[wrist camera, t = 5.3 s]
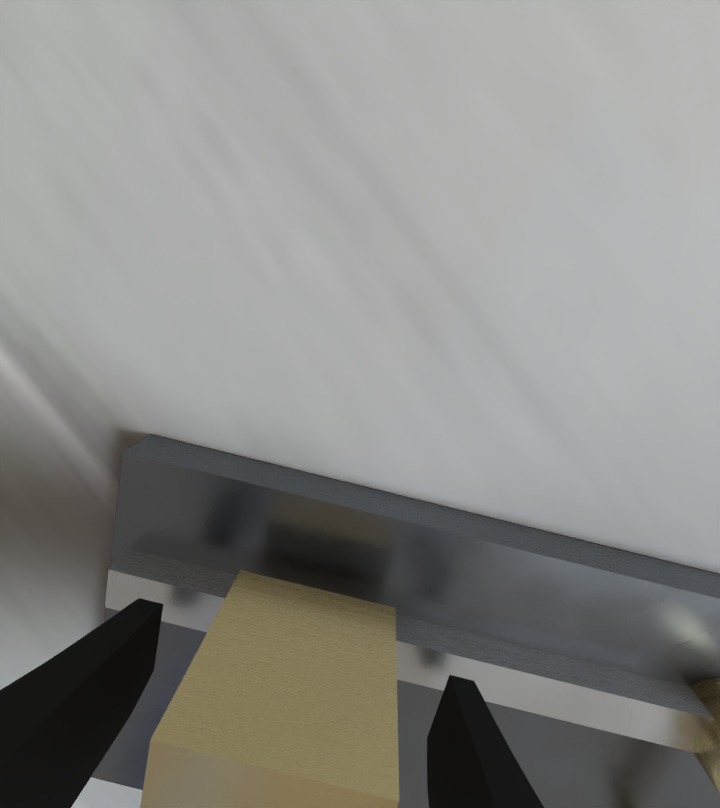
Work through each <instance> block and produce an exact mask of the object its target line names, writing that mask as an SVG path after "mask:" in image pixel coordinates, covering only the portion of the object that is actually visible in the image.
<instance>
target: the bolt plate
mask: <svg viewBox="0 0 720 808" xmlns="http://www.w3.org/2000/svg"><path fill="white" fill-rule="evenodd" d="M240 570H244V571H248V572H252V573H256V574H260V575H264V576H268V577H272V578H276V579H280V580H284V581H288V582H292V583H296V584H300V585H305V586H309V587H313V588H317V589H321V590H325V591H329V592H333V593H337V594H341V595H345V596H349V597H353V598H357V599H361V600H365V601H369V602H373V603H377V604H381V605H386V606H390V607H394V608H395V609H396V659H397V709H398V759H399V804H398V807H397V808H429V801H428V790H427V737H428V734H429V731H430V728H431V725H432V723H433V720H434V717H435V714H436V711H437V709H438V706H439V703H440V700H441V697H442V695H443V692H444V689H445V686H446V683H447V681H448V678H449V675H453V676H457V677H461V678H465V679H469V680H473V681H474V682H475V683H476V685H477V687H478V689H479V691H480V693H481V695H482V697H483V698H484V700H485V702H486V704H487V706H488V708H489V710H490V712H491V714H492V716H493V718H494V719H495V721H496V723H497V725H498V727H499V729H500V731H501V733H502V734H503V736H504V738H505V740H506V742H507V744H508V746H509V747H510V749H511V751H512V753H513V755H514V756H515V758H516V760H517V762H518V763H519V765H520V767H521V769H522V770H523V772H524V774H525V776H526V777H527V779H528V781H529V783H530V784H531V786H532V788H533V790H534V791H535V793H536V795H537V796H538V798H539V800H540V801H541V803H542V805H543V806H544V808H720V574H716V573H712V572H708V571H704V570H700V569H696V568H692V567H687V566H683V565H679V564H675V563H671V562H667V561H663V560H659V559H655V558H651V557H647V556H643V555H639V554H635V553H631V552H627V551H623V550H618V549H614V548H610V547H606V546H602V545H598V544H594V543H590V542H586V541H582V540H578V539H574V538H570V537H566V536H562V535H558V534H553V533H549V532H545V531H541V530H537V529H533V528H529V527H525V526H521V525H517V524H513V523H509V522H505V521H501V520H497V519H493V518H489V517H484V516H480V515H476V514H472V513H468V512H464V511H460V510H456V509H452V508H448V507H444V506H440V505H436V504H432V503H428V502H424V501H420V500H415V499H411V498H407V497H403V496H399V495H395V494H391V493H387V492H383V491H379V490H375V489H371V488H367V487H363V486H359V485H355V484H351V483H346V482H342V481H338V480H334V479H330V478H326V477H322V476H318V475H314V474H310V473H306V472H302V471H298V470H294V469H290V468H286V467H282V466H277V465H273V464H269V463H265V462H261V461H257V460H253V459H249V458H245V457H241V456H237V455H233V454H229V453H225V452H221V451H217V450H213V449H208V448H204V447H200V446H196V445H192V444H188V443H184V442H180V441H176V440H172V439H168V438H164V437H160V436H156V435H152V434H151V435H149V436H148V437H146V438H144V439H143V440H141V441H139V442H138V443H136V444H134V445H133V446H131V447H129V448H128V449H126V450H125V451H123V452H122V461H121V471H120V480H119V490H118V499H117V509H116V518H115V528H114V537H113V547H112V556H111V566H110V569H109V571H108V580H107V590H106V599H105V607H106V613H105V622H106V621H107V620H108V619H110V618H111V617H113V616H114V615H115V614H117V613H118V612H120V611H121V610H122V609H124V608H125V607H127V606H128V605H129V604H131V603H132V602H134V601H135V600H137V599H139V598H141V599H145V600H149V601H153V602H157V603H161V604H163V611H162V618H161V625H160V632H159V639H158V646H157V652H156V659H155V666H154V671H153V673H152V675H151V677H150V679H149V681H148V683H147V685H146V687H145V689H144V691H143V693H142V695H141V697H140V699H139V700H138V702H137V704H136V706H135V708H134V710H133V712H132V714H131V715H130V717H129V719H128V720H127V722H126V723H125V725H124V726H123V728H122V730H121V731H120V733H119V734H118V736H117V737H116V739H115V740H114V742H113V744H112V745H111V747H110V748H109V750H108V751H107V753H106V754H105V756H104V757H103V759H102V760H101V762H100V764H99V765H98V767H97V768H96V770H95V771H94V773H93V774H92V776H91V777H93V778H97V779H101V780H105V781H109V782H113V783H117V784H121V785H125V786H129V787H133V788H137V789H141V790H143V786H144V779H145V773H146V766H147V759H148V753H149V746H150V740H151V738H152V736H153V734H154V732H155V730H156V728H157V726H158V724H159V723H160V721H161V719H162V717H163V715H164V713H165V711H166V709H167V708H168V706H169V704H170V702H171V700H172V698H173V696H174V694H175V692H176V691H177V689H178V687H179V685H180V683H181V681H182V679H183V677H184V675H185V674H186V672H187V670H188V668H189V666H190V664H191V662H192V660H193V658H194V657H195V655H196V653H197V651H198V649H199V647H200V645H201V643H202V641H203V640H204V638H205V636H206V634H207V632H208V630H209V628H210V626H211V624H212V623H213V621H214V619H215V617H216V615H217V613H218V611H219V609H220V608H221V606H222V604H223V602H224V600H225V598H226V596H227V594H228V592H229V591H230V589H231V587H232V585H233V583H234V581H235V579H236V577H237V575H238V574H239V572H240Z"/></svg>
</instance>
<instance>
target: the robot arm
mask: <svg viewBox="0 0 720 808" xmlns="http://www.w3.org/2000/svg"><path fill="white" fill-rule="evenodd" d="M162 611H163V604H161V603H157V602H153V601H149V600H145V599H141V598H139V599H137V600H135V601H134V602H132V603H131V604H129V605H128V606H127V607H125V608H124V609H122V610H121V611H120V612H118V613H117V614H115V615H114V616H113V617H111V618H110V619H108V620H107V621H106V622H104V623H103V624H101V625H100V626H99V627H97V628H96V629H94V630H93V631H91V632H90V633H89V634H87V635H86V636H84V637H83V638H81V639H80V640H78V641H77V642H75V643H74V644H72V645H71V646H69V647H68V648H66V649H65V650H63V651H62V652H60V653H59V654H57V655H56V656H54V657H53V658H51V659H50V660H48V661H47V662H45V663H44V664H42V665H40V666H39V667H37V668H36V669H34V670H32V671H31V672H29V673H27V674H26V675H24V676H23V677H21V678H19V679H18V680H16V681H15V682H13V683H11V684H10V685H8V686H6V687H5V688H3V689H1V690H0V808H71V806H72V805H73V803H74V802H75V800H76V799H77V797H78V796H79V794H80V793H81V791H82V790H83V788H84V786H85V785H86V783H87V782H88V780H89V779H90V777H91V776H92V774H93V773H94V771H95V770H96V768H97V767H98V765H99V764H100V762H101V760H102V759H103V757H104V756H105V754H106V753H107V751H108V750H109V748H110V747H111V745H112V744H113V742H114V740H115V739H116V737H117V736H118V734H119V733H120V731H121V730H122V728H123V726H124V725H125V723H126V722H127V720H128V719H129V717H130V715H131V714H132V712H133V710H134V708H135V706H136V704H137V702H138V700H139V699H140V697H141V695H142V693H143V691H144V689H145V687H146V685H147V683H148V681H149V679H150V677H151V675H152V673H153V671H154V666H155V659H156V652H157V646H158V639H159V632H160V625H161V618H162ZM427 790H428V801H429V808H544V806H543V805H542V803H541V801H540V800H539V798H538V796H537V795H536V793H535V791H534V790H533V788H532V786H531V784H530V783H529V781H528V779H527V777H526V776H525V774H524V772H523V770H522V769H521V767H520V765H519V763H518V762H517V760H516V758H515V756H514V755H513V753H512V751H511V749H510V747H509V746H508V744H507V742H506V740H505V738H504V736H503V734H502V733H501V731H500V729H499V727H498V725H497V723H496V721H495V719H494V718H493V716H492V714H491V712H490V710H489V708H488V706H487V704H486V702H485V700H484V698H483V697H482V695H481V693H480V691H479V689H478V687H477V685H476V683H475V682H474V681H473V680H469V679H465V678H461V677H457V676H453V675H449V678H448V681H447V683H446V686H445V689H444V692H443V695H442V697H441V700H440V703H439V706H438V709H437V711H436V714H435V717H434V720H433V723H432V725H431V728H430V731H429V734H428V737H427Z"/></svg>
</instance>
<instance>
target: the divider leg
mask: <svg viewBox="0 0 720 808" xmlns="http://www.w3.org/2000/svg"><path fill="white" fill-rule="evenodd" d="M398 804H399V759H398V709H397V659H396V609H395V608H394V607H390V606H386V605H381V604H377V603H373V602H369V601H365V600H361V599H357V598H353V597H349V596H345V595H341V594H337V593H333V592H329V591H325V590H321V589H317V588H313V587H309V586H305V585H300V584H296V583H292V582H288V581H284V580H280V579H276V578H272V577H268V576H264V575H260V574H256V573H252V572H248V571H244V570H240V572H239V574H238V575H237V577H236V579H235V581H234V583H233V585H232V587H231V589H230V591H229V592H228V594H227V596H226V598H225V600H224V602H223V604H222V606H221V608H220V609H219V611H218V613H217V615H216V617H215V619H214V621H213V623H212V624H211V626H210V628H209V630H208V632H207V634H206V636H205V638H204V640H203V641H202V643H201V645H200V647H199V649H198V651H197V653H196V655H195V657H194V658H193V660H192V662H191V664H190V666H189V668H188V670H187V672H186V674H185V675H184V677H183V679H182V681H181V683H180V685H179V687H178V689H177V691H176V692H175V694H174V696H173V698H172V700H171V702H170V704H169V706H168V708H167V709H166V711H165V713H164V715H163V717H162V719H161V721H160V723H159V724H158V726H157V728H156V730H155V732H154V734H153V736H152V738H151V740H150V746H149V753H148V759H147V766H146V773H145V779H144V786H143V793H142V800H141V806H140V808H397V807H398Z"/></svg>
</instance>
